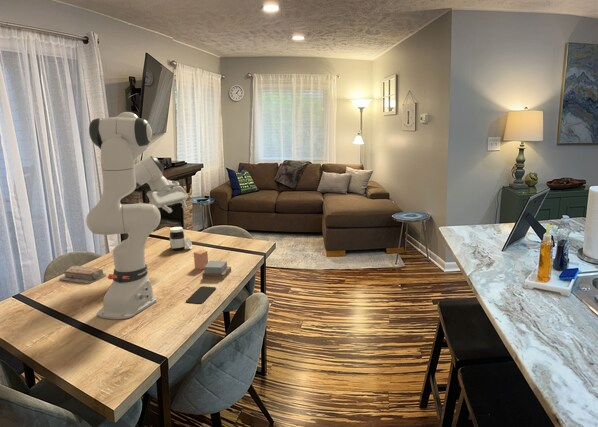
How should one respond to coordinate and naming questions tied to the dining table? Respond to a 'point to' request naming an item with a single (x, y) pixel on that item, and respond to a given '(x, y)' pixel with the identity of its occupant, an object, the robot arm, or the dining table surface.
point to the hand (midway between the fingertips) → (178, 210)
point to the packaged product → (83, 274)
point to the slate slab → (215, 267)
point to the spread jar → (179, 239)
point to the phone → (201, 295)
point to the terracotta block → (200, 259)
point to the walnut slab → (217, 276)
